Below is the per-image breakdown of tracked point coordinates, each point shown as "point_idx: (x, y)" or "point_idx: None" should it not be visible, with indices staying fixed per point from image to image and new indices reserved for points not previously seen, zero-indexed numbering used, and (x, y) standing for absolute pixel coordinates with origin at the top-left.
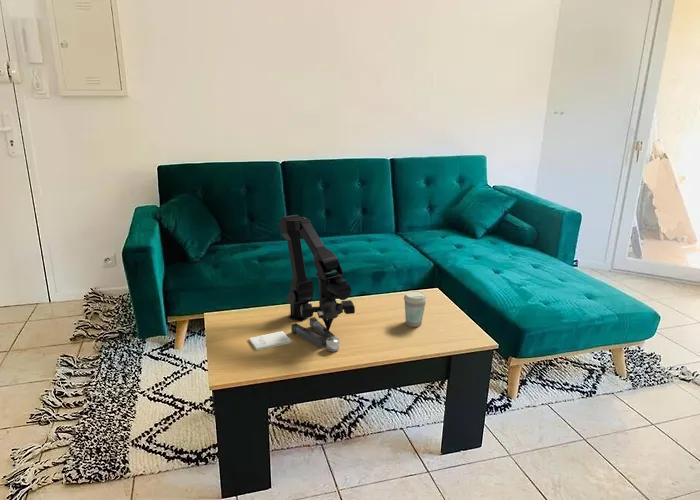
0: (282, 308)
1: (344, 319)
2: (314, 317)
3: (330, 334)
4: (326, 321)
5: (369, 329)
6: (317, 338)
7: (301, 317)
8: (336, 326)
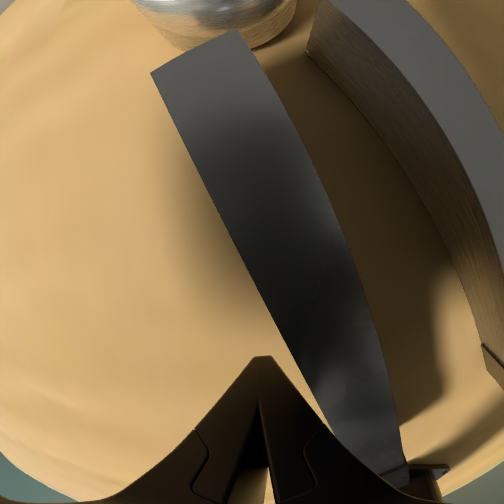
0: None
1: None
2: None
3: (224, 109)
4: (296, 466)
5: (11, 351)
6: (436, 35)
7: None
8: None
